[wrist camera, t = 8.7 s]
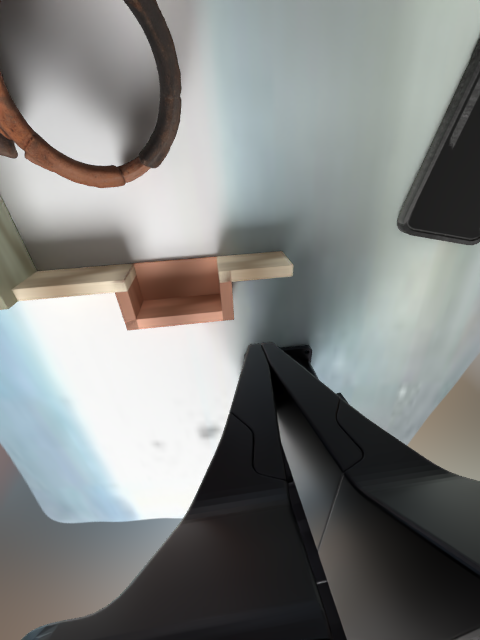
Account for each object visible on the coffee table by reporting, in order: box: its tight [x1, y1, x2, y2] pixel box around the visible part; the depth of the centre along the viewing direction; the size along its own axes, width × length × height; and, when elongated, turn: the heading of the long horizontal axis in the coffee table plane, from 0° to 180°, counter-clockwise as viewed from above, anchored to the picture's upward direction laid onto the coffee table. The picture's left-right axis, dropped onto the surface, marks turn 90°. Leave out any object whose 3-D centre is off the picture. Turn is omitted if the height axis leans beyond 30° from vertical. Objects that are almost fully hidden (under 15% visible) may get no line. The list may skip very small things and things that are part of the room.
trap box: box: [0, 196, 293, 330], centre depth 14 cm, size 18×22×4 cm
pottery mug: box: [0, 0, 181, 188], centre depth 12 cm, size 12×10×8 cm
